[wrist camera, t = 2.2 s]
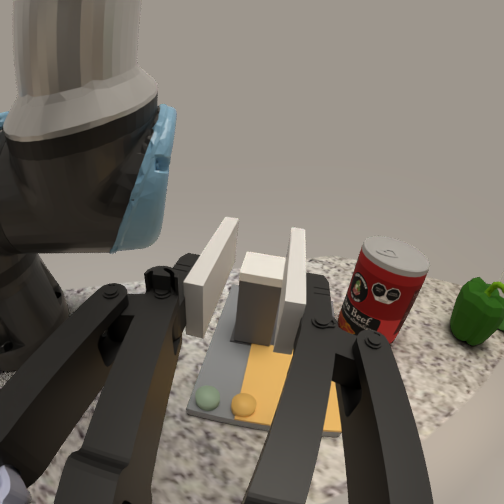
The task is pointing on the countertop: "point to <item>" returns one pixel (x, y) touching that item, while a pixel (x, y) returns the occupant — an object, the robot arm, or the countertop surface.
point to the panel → (246, 379)
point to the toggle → (258, 297)
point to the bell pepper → (477, 311)
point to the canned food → (383, 287)
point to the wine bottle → (503, 279)
